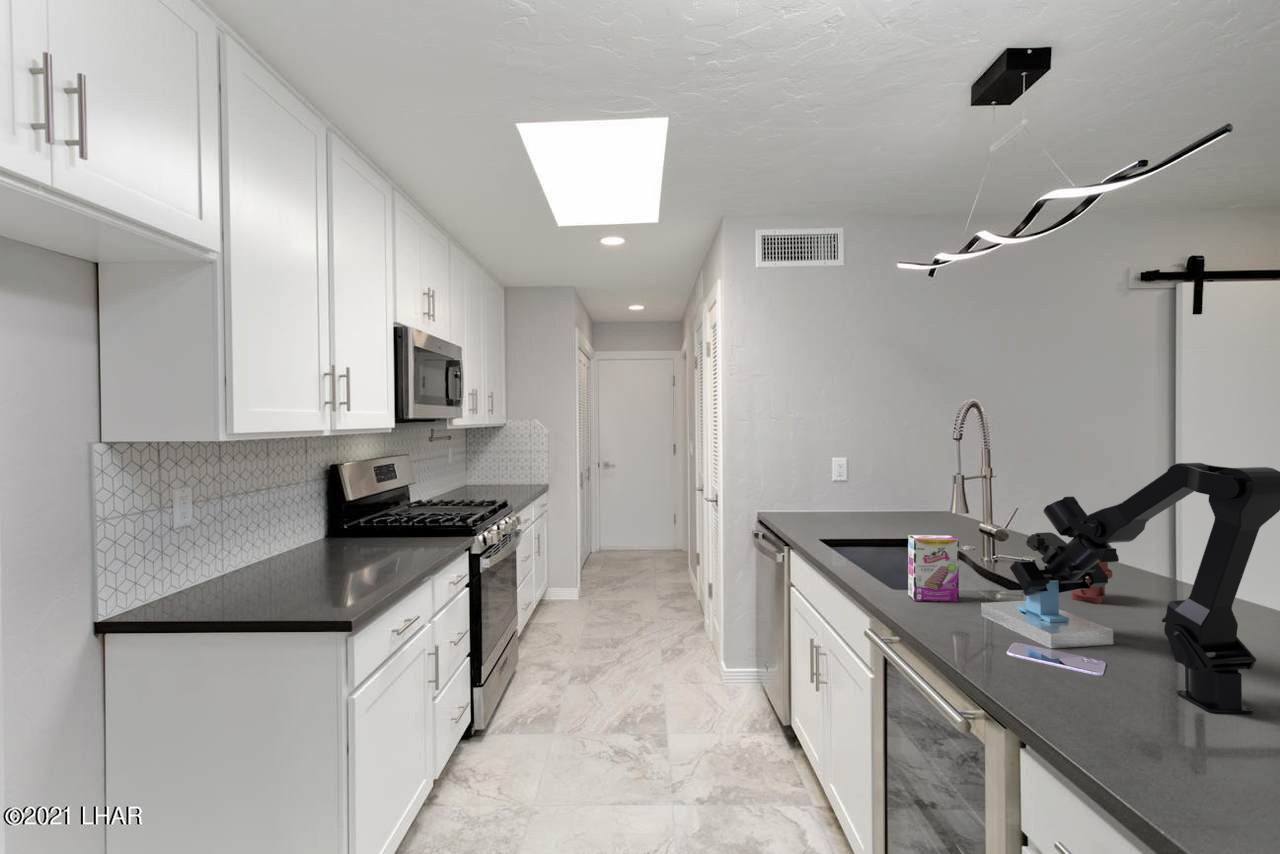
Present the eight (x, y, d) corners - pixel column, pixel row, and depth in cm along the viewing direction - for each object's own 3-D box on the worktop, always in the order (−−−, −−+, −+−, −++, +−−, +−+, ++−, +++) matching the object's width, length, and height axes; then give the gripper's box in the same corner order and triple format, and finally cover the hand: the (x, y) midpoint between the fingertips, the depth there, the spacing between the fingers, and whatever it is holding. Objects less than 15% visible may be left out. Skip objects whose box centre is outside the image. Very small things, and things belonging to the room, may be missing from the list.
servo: (1069, 635, 122) (1068, 579, 122) (1050, 637, 122) (1049, 580, 122) (1035, 621, 131) (1034, 568, 131) (1017, 622, 131) (1016, 569, 130)
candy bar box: (914, 602, 146) (913, 538, 146) (907, 596, 151) (906, 534, 151) (960, 602, 145) (959, 538, 145) (951, 596, 150) (951, 534, 150)
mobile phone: (1013, 640, 119) (1106, 660, 108) (1013, 645, 119) (1106, 665, 108) (1005, 651, 113) (1102, 673, 103) (1005, 656, 113) (1102, 678, 103)
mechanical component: (1121, 607, 139) (1072, 604, 142) (1101, 595, 149) (1056, 593, 152) (1120, 557, 139) (1072, 555, 142) (1100, 548, 149) (1055, 546, 152)
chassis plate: (1113, 644, 117) (1113, 629, 117) (1051, 648, 116) (1050, 633, 116) (1035, 612, 137) (1035, 600, 137) (981, 615, 135) (981, 603, 135)
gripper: (1095, 520, 123) (1053, 559, 134) (1015, 524, 121) (980, 563, 132) (1130, 566, 116) (1083, 603, 127) (1046, 570, 113) (1006, 608, 124)
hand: (1037, 593), depth 128 cm, fingers open, 6 cm apart
